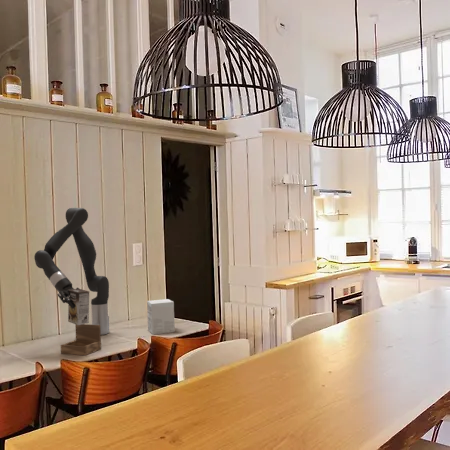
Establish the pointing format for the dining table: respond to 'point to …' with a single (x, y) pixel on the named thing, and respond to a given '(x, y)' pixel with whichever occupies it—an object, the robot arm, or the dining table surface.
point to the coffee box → (79, 307)
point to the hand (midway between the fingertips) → (79, 305)
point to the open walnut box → (84, 340)
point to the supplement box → (160, 316)
